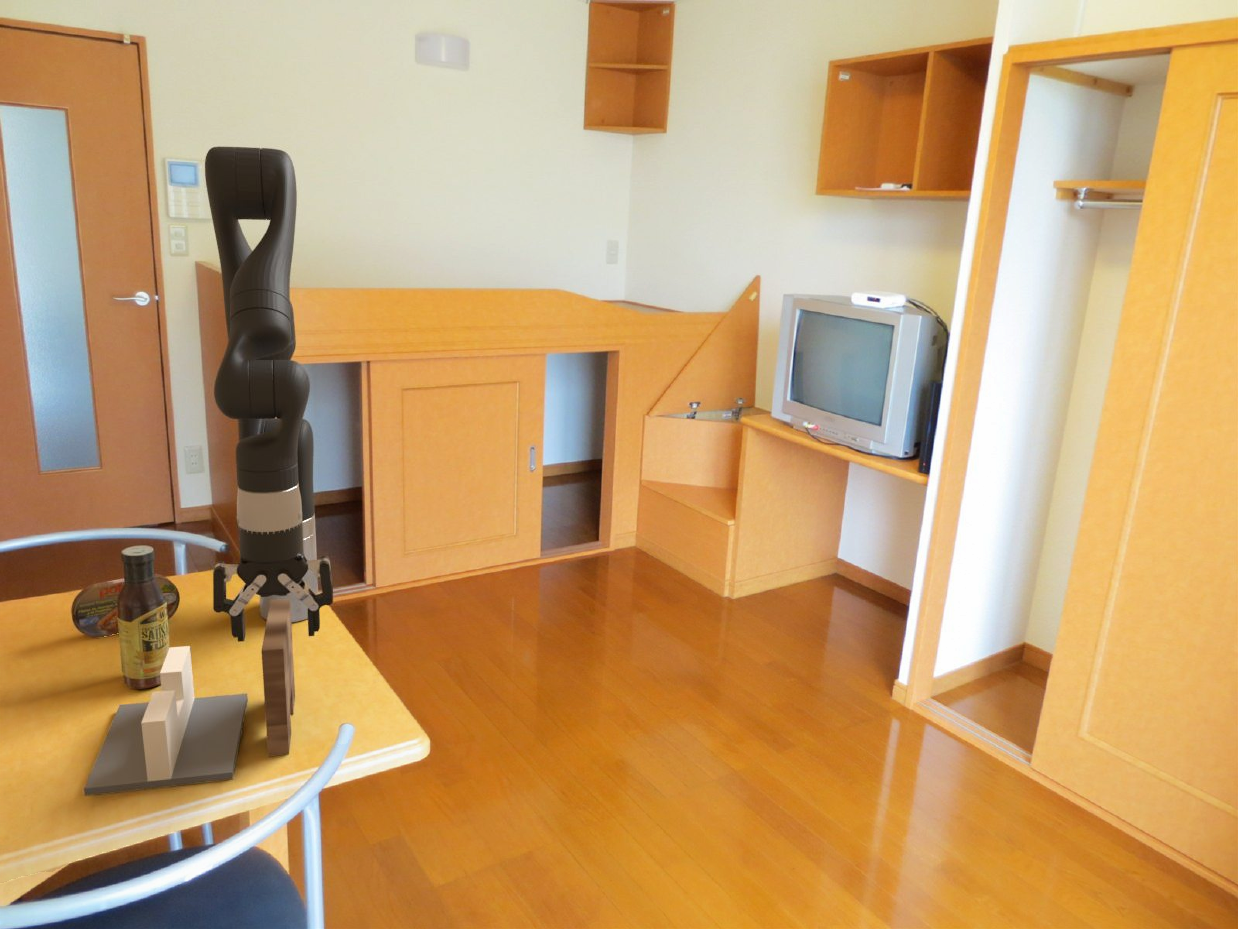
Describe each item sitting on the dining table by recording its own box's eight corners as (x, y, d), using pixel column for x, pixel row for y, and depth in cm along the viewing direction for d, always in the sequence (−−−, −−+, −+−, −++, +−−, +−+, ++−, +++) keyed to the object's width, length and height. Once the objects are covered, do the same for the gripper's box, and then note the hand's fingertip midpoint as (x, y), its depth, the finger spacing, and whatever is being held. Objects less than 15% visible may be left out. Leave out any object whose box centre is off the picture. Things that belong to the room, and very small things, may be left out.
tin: (75, 643, 139) (69, 593, 136) (72, 635, 141) (66, 585, 139) (182, 621, 148) (178, 573, 145) (178, 613, 150) (173, 566, 148)
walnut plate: (276, 697, 128) (270, 600, 124) (295, 695, 129) (290, 599, 124) (268, 756, 115) (261, 650, 111) (289, 754, 116) (283, 648, 112)
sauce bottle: (152, 694, 127) (138, 563, 121) (113, 687, 128) (97, 557, 122) (183, 671, 133) (171, 545, 127) (145, 665, 134) (132, 539, 128)
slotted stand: (120, 711, 123) (113, 651, 120) (247, 699, 127) (243, 642, 124) (84, 796, 106) (75, 729, 104) (232, 779, 111) (227, 714, 108)
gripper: (330, 506, 119) (334, 619, 123) (212, 510, 115) (221, 627, 119) (329, 526, 112) (333, 645, 117) (203, 532, 108) (213, 654, 113)
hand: (276, 636), depth 118 cm, fingers open, 8 cm apart
